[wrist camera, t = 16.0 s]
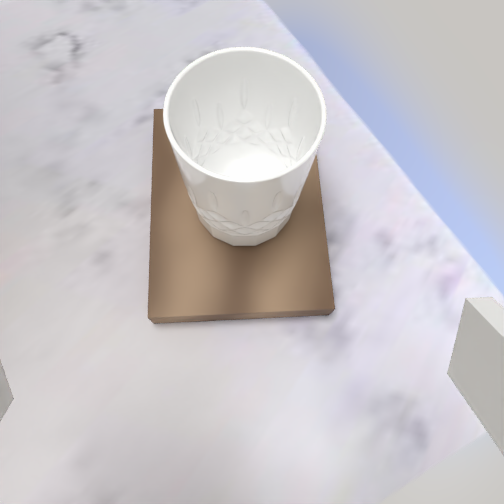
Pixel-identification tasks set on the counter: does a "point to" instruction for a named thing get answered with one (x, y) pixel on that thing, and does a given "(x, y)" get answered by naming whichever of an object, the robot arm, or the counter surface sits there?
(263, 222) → the white cup
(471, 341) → the robot arm
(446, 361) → the counter surface
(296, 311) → the walnut board
